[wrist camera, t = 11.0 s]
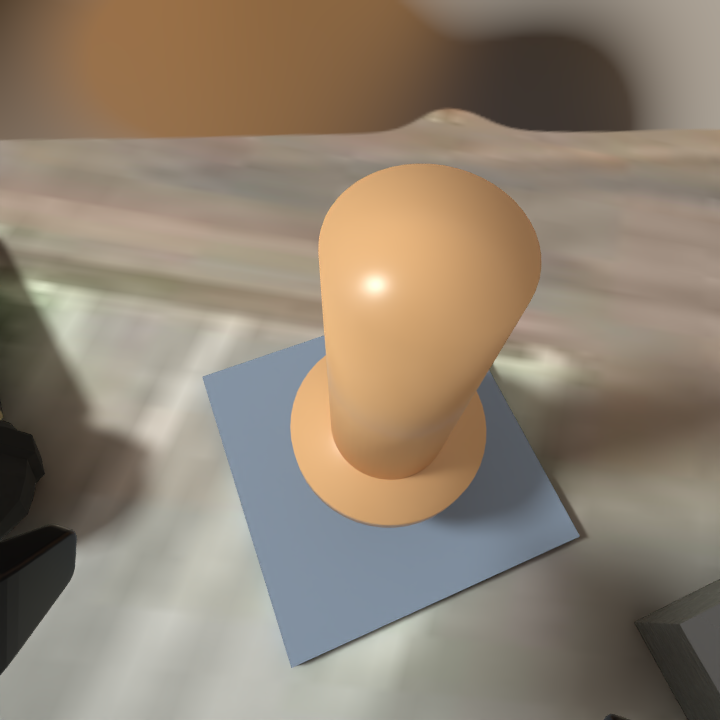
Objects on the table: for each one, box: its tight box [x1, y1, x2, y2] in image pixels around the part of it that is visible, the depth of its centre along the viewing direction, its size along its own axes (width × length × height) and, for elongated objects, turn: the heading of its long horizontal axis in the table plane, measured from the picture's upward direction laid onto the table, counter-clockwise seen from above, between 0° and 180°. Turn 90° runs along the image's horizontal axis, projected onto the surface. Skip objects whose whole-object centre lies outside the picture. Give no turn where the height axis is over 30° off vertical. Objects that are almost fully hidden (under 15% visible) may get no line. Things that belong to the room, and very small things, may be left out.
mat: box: [203, 335, 580, 668], centre depth 23 cm, size 12×12×1 cm
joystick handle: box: [290, 164, 541, 528], centre depth 16 cm, size 7×7×14 cm
